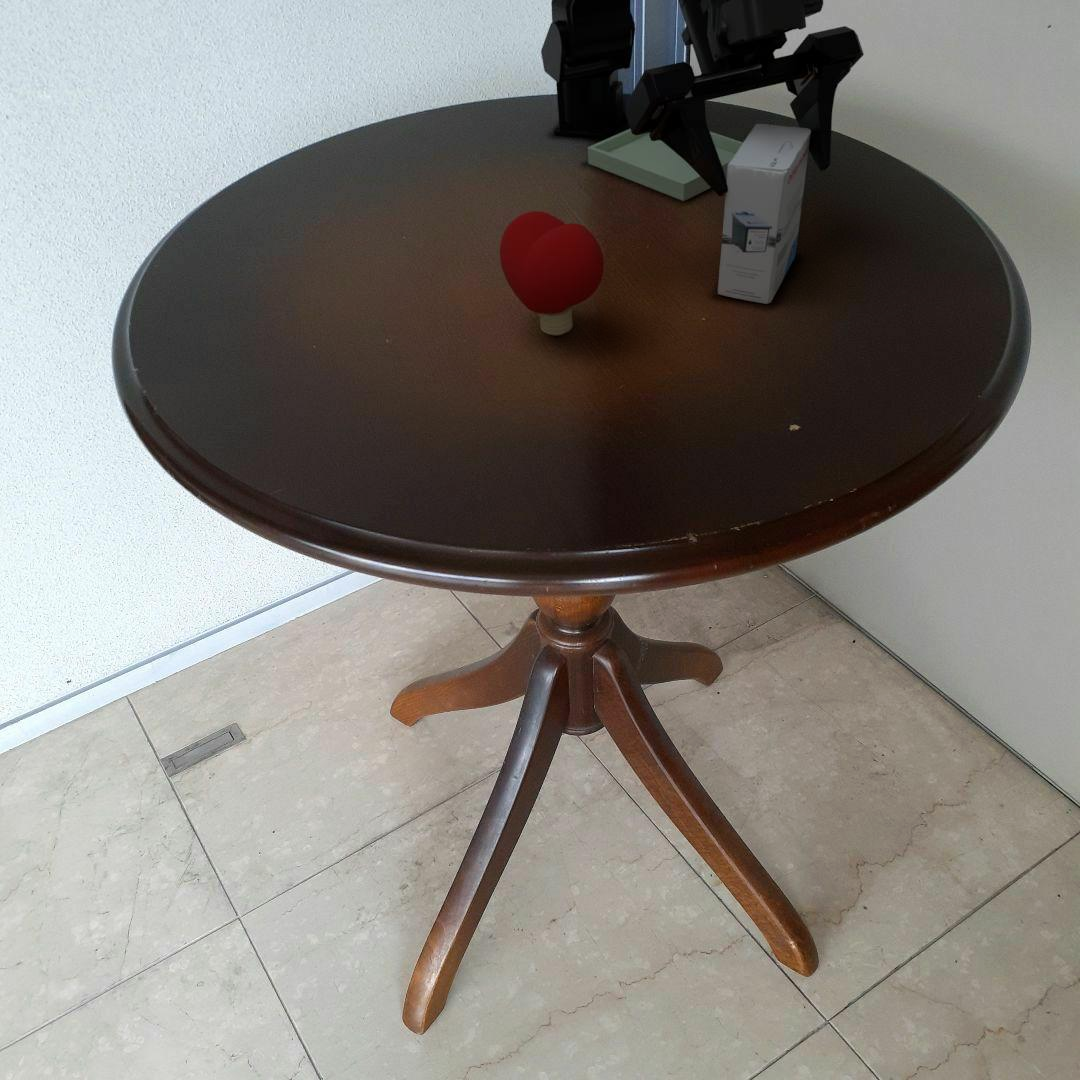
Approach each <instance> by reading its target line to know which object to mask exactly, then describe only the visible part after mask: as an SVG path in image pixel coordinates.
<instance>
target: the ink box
mask: <svg viewBox="0 0 1080 1080" xmlns="http://www.w3.org/2000/svg"><path fill="white" fill-rule="evenodd" d="M810 135H811V130H810V129H807V128H800V127H799V126H788V125H776V124H767V123H755V125H754V126H753V128H751V131H750V132H749V133H748V135H747V137H746V138H745V139H744V140H743V141H742V142H743V144H742V145H741V147H740V148H739V150H738V151H737V153H736V154H735V155H734V157H733V158H732V160H731V161H730V163H729V164H728V168H727V180H726V182H727V187H728V192H727V193H726V194H725V195H724V196H725V198H724V211H723V224H722V225H723V226H722V236H721V246H720V259H719V260H720V261H719V270H718V281H717V282H718V283H717V295H719V296H723V297H729V298H732V299H737V300H738V299H739V300H741V301H742V300H743V301H747V302H754V303H758V304H765V305H768V304H771V303H772V301H773V300H774V298H775V295H776V294H777V292H778V290H779V289H780V286H781V285H782V283H783V281H784V279H785V277H786V275H787V273H788V271H789V269H790V268H791V265H792V263H793V262H794V260H795V258H796V255H797V245H798V238H799V231H800V230H799V229H800V223H801V222H800V221H801V216H802V215H801V213H802V207H803V206H802V205H803V198H804V191H805V184H806V183H805V182H806V174H807V167H808V166H807V165H808V157H809V152H810V151H809V142H810Z"/></svg>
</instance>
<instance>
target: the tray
mask: <svg viewBox="0 0 1080 1080" xmlns="http://www.w3.org/2000/svg"><path fill="white" fill-rule="evenodd" d="M649 134H650V132H649V133H645V134H640V135H634V134H632V132H631V129H630V128H629V129H626V130H624V131H622V132H619V133H617V134H615V135H612V136H609V137H607V138H605V139H604V140H601V141H599V142H596V143H595V144H594V143H593V144H591V145H590V146H588V147H587V161H588V165H591V166H593V167H596V168H598V169H601V170H603V171H605V172H609V173H611V174H614V175H616V176H619V177H622V178H624V179H626V180H628V181H631V182H634V183H636V184H639V185H642V186H644V187H645V188H646V187H647V188H649V189H651V190H653V191H657V192H659V193H661V194H665V195H667V196H669V197H672V198H674V199H677V200H680V201H682V202H685V201H688V200H689V199H692V198H693V197H694V196H697V195H699V194H701V193H703V192H705V191H708V190H709V189H712V188H711V187H710V186H709V185H708V184H707V183H706V182H705V181H704V180H703V179H702V178H701V177H700V175H699V174H698V173H697V172H696V171H695V170H694V169H693V168H692V167H691V166H690V165H689V164H688V163H687V162H686V161H685V160H684V159H682V158H681V157H680V156H679V155H678V154H677V153H675V152H674V151H673V150H672V149H671V148H669V147H668V146H667V145H666V144H665V143H663V142H662V141H660V140H658V141H651V139H650V137H649ZM710 134H711V137H712V140H713V142H714V145H715V148H716V151H717V154H718V156H719V159H720V162H721V165H722V167H723V170H724V174H725V178H726V181H727V168H728V164H729V163H730V161H731V160H732V158H733V157H734V155H735V154H736V153H737V151H738V150H739V148H740V147H741V145H742V144H743V142H744V141H740V140H737V139H734V138H731V137H728V136H725V135H722V134H719V133H716V132H713V131H710Z"/></svg>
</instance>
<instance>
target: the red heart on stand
mask: <svg viewBox="0 0 1080 1080" xmlns="http://www.w3.org/2000/svg"><path fill="white" fill-rule="evenodd" d="M594 235H595V234H593V233H592V232H591V231H590V230H589V229H588V228H587V227H586V226H584V225H582V224H579V223H576V222H575V223H573V222H571V223H565V221H563V220H561V219H560V218H558V217H556V216H554V215H552V214H551V213H548V212H544V211H539V210H534V211H533V210H532V211H528V212H524V213H522V214H520V215H518V216H516V217H515V218H514V219H513V220H512V221H511V222H509V224H508V225H507V227H506V228H505V230H504V232H503V234H502V236H501V240H500V245H499V259H500V260H499V261H500V266H501V269H502V273H503V275H504V277H505V280H506V282H507V284H508V285H509V287H510V288H511V290H512V292H513V293H514V296H516V297H517V298H518V300H519V301H520V302H521V303H522V304H523V305H524V306H525V308H527V310H528V311H530V312H533V313H536V314H539V324H540V329H541V331H542V333H545V334H547V335H550V336H552V337H554V338H560V337H562V336H563V335H565V334H566V333H567V332H569V331H571V329H572V328H573V324H574V323H573V315H572V312H573V311H572V310H573V306H576V305H579V304H581V303H583V302H585V301H586V300H588V299H589V298H590V297H592V296H593V295H594V293H595V292H596V291H597V290H598V288H599V286H600V284H601V283H602V279H603V275H604V270H605V260H604V254H603V251H602V248H601V246H600V244H599V242H598V240H597V238H596V237H595V236H594Z"/></svg>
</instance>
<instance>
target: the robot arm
mask: <svg viewBox="0 0 1080 1080" xmlns="http://www.w3.org/2000/svg"><path fill="white" fill-rule="evenodd" d="M677 1H678V4H679V8H680V10H681V13H682V17H683V20H684V24H685V26H684V29H683V31H682V32H681V39H682V42H683V45H684V47H687V46H692V48H693V51H694V55H695V57H696V60H697V63H698V67H699V70H700V74H699V75H698V74H697V75H695V72H694V68H693V66H692V65H691V64H689V63H688V62H686V61H680V62H677V63H676V62H675V63H670V64H666V65H662V66H658V67H652V68H648V69H644V71H643V73H642V74H641V76H640V78H639V80H638V81H637V83H636V85H635V87H634V89H633V91H632V93H631V94H630V96H629V98H628V100H627V101H626V104H625V112H624V83H623V81H622V80H619V71H620V70H622V69H624V70H627V69H631V62H632V57H633V49H634V42H635V34H636V23H635V21H634V17H633V13H632V11H631V0H551V4H550V5H551V23H550V25H549V27H548V30H547V33H546V35H545V39H544V42H543V44H542V46H541V50H540V52H541V60H542V66H543V70H544V73H546V74H547V75H548V76H549V77H550V78H552V79H553V80H554V81H555V83H556V84H555V85H556V99H557V113H558V123H557V125H556V126H555V127H554V128H553V134H554V135H558V136H572V137H586V138H600V139H608V138H610V136H611V134H612V133H613V132H614V131H615V129H616V128H618V126H619V124H620V123H621V122H622V121H623V120H624V118H625V116H626V119H627V123H628V125H629V129H631V132H632V134H634V135H640V134H645V133H649V132H650V134H649V137H650V139H651V141H658V140H660V141H662V142H663V143H665V144H666V145H667V146H668V147H669V148H671V149H672V150H673V151H674V152H675V153H677V154H678V155H679V156H680V157H681V158H682V159H684V160H685V161H686V162H687V163H688V164H689V165H690V166H691V167H692V168H693V169H694V170H695V171H696V172H697V173H698V174H699V175H700V177H701V178H702V179H703V180H704V181H705V182H706V183H707V184H708V185H709V186H710V187H711V188H710V189H711V190H713V191H714V193H716V195H717V196H719V197H723V196H726V193H727V192H728V187H727V180H726V178H725V174H724V170H723V167H722V165H721V162H720V159H719V156H718V154H717V151H716V148H715V145H714V142H713V140H712V137H711V134H710V132H711V131H710V128H709V126H708V123H707V122H708V121H707V111H706V101H710V100H714V99H719V98H723V97H727V96H732V95H736V94H741V93H744V92H745V93H746V92H749V91H754V90H758V89H763V88H767V87H771V86H775V85H780V84H785V86H786V89H787V91H788V92H789V93H791V94H792V95H794V96H795V97H794V98H793V100H791V102H790V103H789V106H790V108H791V110H792V113H793V115H794V118H795V120H796V123H797V125H798V127H799V128H807V129H810V130H811V135H810V142H809V151H808V152H809V153H810V155H811V158H812V159H813V162H814V163H815V164H816V166H817V168H818V170H819V171H820V172H823V171H826V170H827V169H828V168H829V167H830V165H831V154H832V153H831V151H832V128H833V127H832V125H833V124H832V123H833V109H834V102H835V95H836V91H837V88H838V86H839V84H840V83H841V82H842V81H843V80H844V79H845V77H846V76H848V75H849V73H850V72H851V70H852V68H853V67H854V66H855V65H856V64H857V63H858V61H859V60H861V58H862V57H863V56H864V50H863V48H862V45H861V42H860V38H859V36H858V34H857V32H856V31H855V30H854V29H852V28H850V27H848V26H846V25H844V26H839V27H835V28H834V27H833V28H830V29H825V30H821V31H816V32H812V33H808V34H807V35H806V36H805V38H804V39H803V40H802V41H801V43H800V44H799V45H798V47H797V48H796V49H795V50H794V51H793V52H792V54H789V55H784V56H779V57H775V54H774V53H775V51H776V50H781V49H782V48H783V47H784V45H785V44H786V43H787V41H788V38H787V35H786V33H788V32H791V31H795V30H804V29H805V28H807V20H806V18H809V17H811V16H813V15H816V14H818V13H821V11H822V9H823V6H824V0H677Z"/></svg>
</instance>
